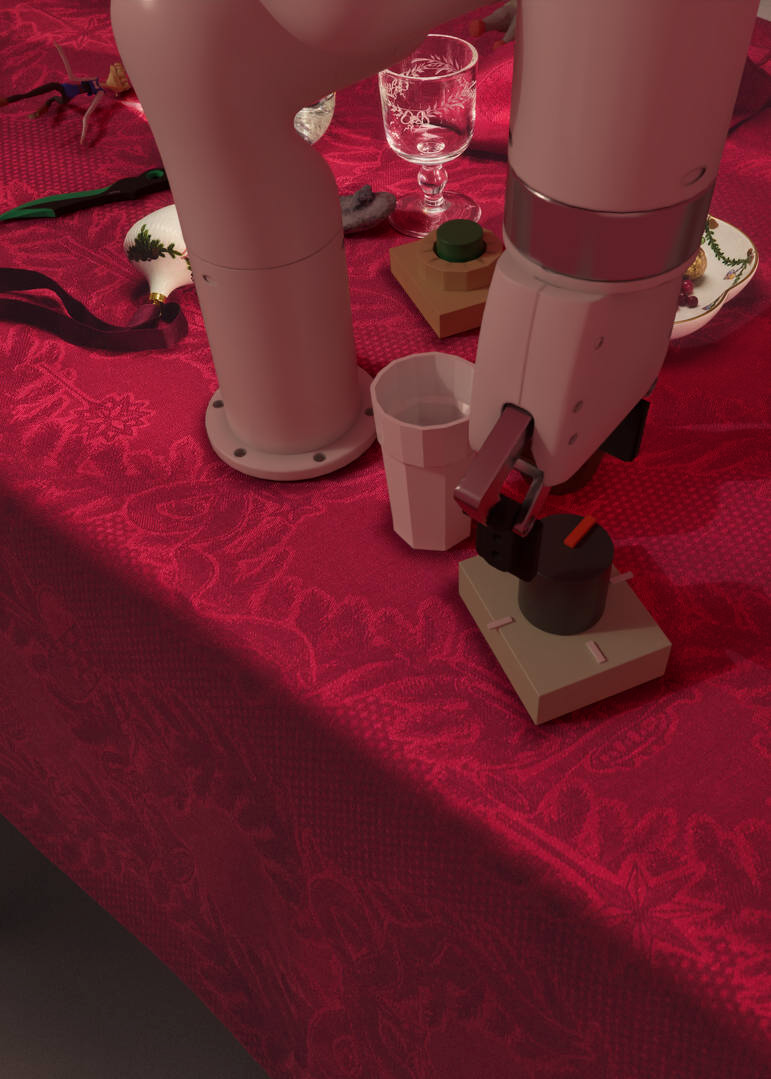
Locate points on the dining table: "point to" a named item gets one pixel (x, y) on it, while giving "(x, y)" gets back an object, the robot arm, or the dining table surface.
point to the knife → (92, 196)
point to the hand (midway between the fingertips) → (559, 504)
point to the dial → (569, 576)
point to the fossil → (366, 209)
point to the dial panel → (564, 644)
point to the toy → (497, 23)
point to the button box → (446, 282)
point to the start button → (459, 240)
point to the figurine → (74, 90)
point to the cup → (425, 444)
